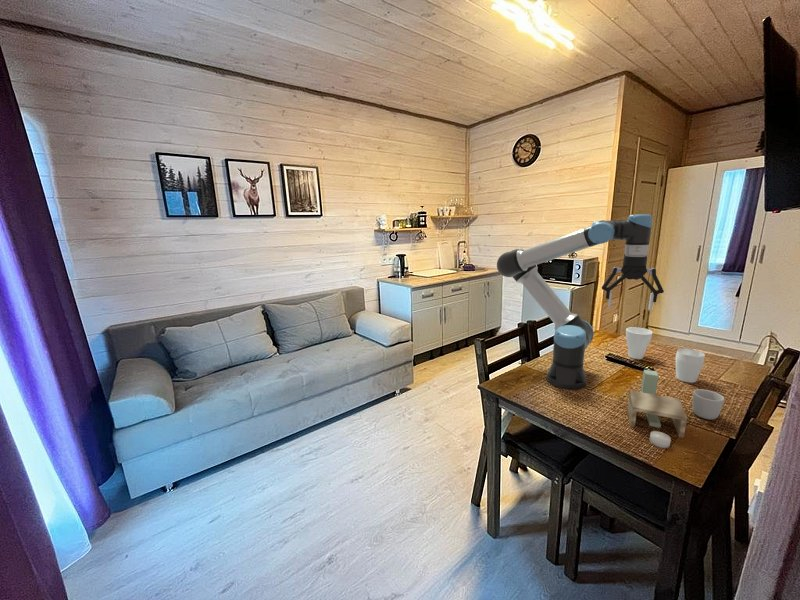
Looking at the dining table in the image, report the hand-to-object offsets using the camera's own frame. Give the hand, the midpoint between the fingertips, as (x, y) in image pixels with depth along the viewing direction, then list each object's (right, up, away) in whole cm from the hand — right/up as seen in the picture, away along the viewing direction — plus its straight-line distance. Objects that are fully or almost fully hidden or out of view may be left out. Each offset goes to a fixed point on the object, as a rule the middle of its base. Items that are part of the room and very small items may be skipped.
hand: (629, 308), depth 135 cm
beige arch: (-6, -38, -21) cm, 44 cm away
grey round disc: (-11, -41, -31) cm, 52 cm away
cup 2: (+28, -30, +6) cm, 42 cm away
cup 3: (+15, -37, -17) cm, 43 cm away
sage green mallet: (-2, -36, -14) cm, 39 cm away
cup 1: (+23, -25, +29) cm, 45 cm away
